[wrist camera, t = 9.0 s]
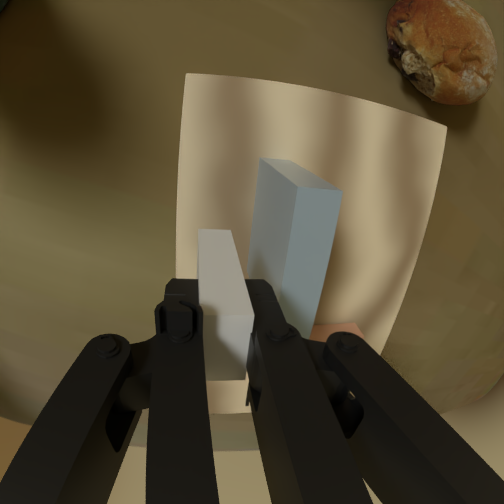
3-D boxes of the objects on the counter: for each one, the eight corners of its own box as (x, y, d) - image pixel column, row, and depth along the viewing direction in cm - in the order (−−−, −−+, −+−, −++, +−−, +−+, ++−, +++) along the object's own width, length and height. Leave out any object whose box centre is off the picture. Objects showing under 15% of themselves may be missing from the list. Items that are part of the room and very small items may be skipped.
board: (182, 405, 30) (182, 414, 28) (186, 75, 17) (186, 73, 16) (355, 390, 33) (359, 398, 32) (438, 125, 21) (447, 126, 20)
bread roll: (433, 104, 24) (507, 116, 18) (380, 97, 19) (484, 108, 13) (424, 12, 20) (497, 13, 13) (365, -22, 15) (463, -34, 9)
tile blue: (246, 270, 22) (270, 345, 15) (259, 157, 19) (297, 186, 12) (277, 271, 23) (312, 343, 16) (293, 160, 20) (348, 191, 12)
